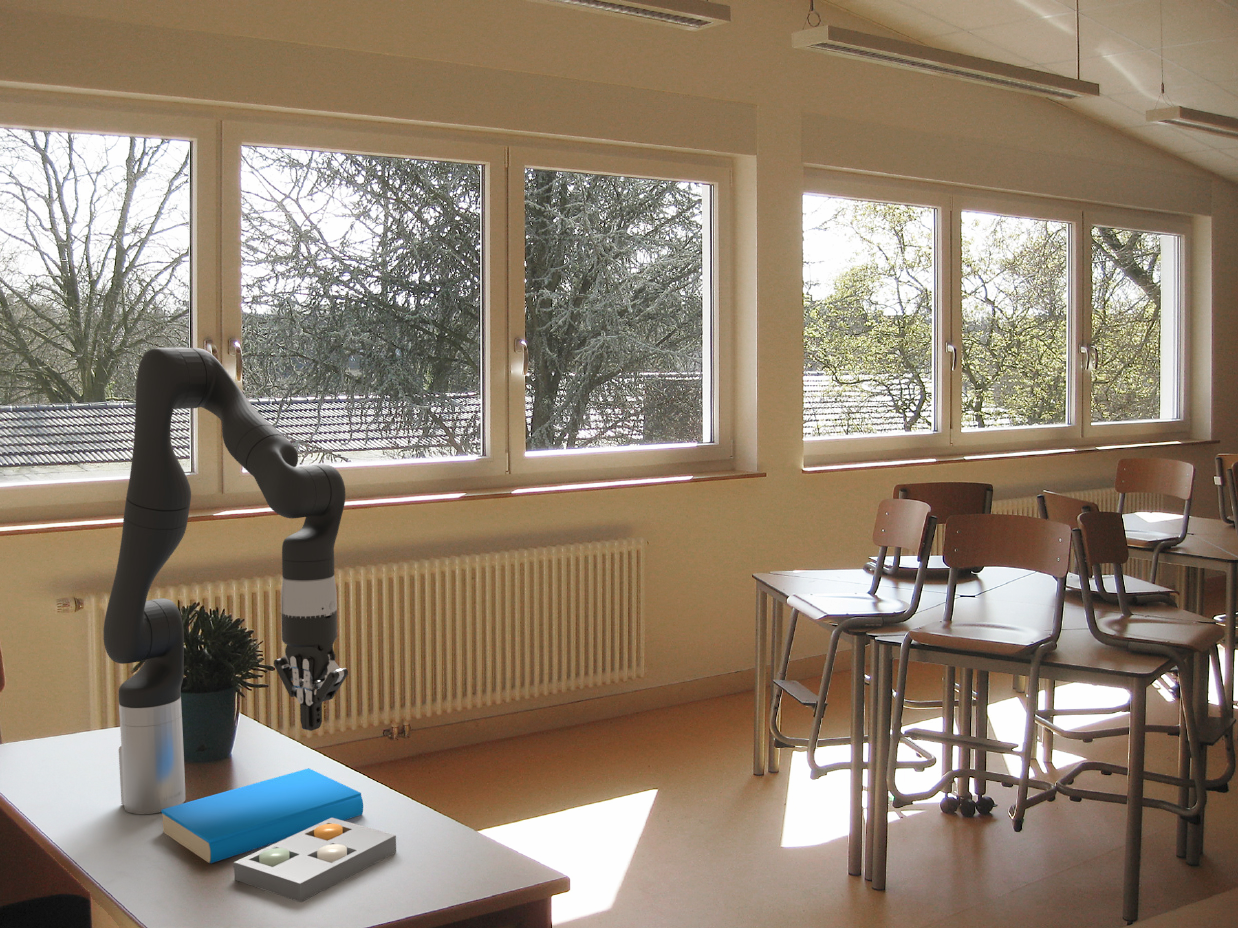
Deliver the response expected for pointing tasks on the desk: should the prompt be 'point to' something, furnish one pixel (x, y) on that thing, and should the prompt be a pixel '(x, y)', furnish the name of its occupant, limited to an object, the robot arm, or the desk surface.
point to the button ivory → (332, 852)
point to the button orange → (328, 831)
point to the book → (259, 814)
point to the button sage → (274, 856)
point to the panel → (315, 861)
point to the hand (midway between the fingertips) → (311, 728)
